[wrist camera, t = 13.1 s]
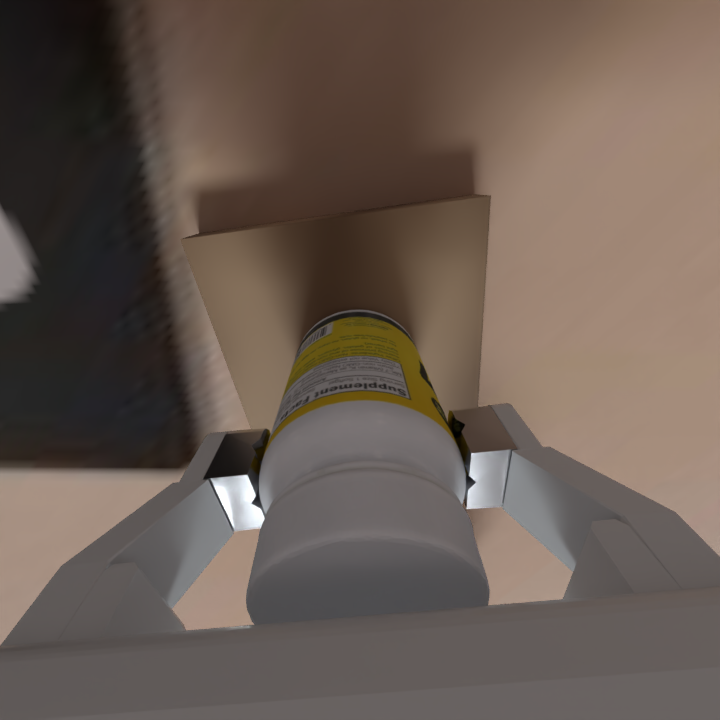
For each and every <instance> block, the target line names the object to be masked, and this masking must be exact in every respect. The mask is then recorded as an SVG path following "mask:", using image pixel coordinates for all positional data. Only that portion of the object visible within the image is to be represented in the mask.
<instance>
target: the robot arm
mask: <svg viewBox="0 0 720 720" xmlns="http://www.w3.org/2000/svg"><path fill="white" fill-rule="evenodd" d="M448 424H449V426H450V429H451V431H452V434H453V436H454V438H455V440H456V443H457V445H458V448H459V450H460V453H461V456H462V459H463V463H464V467H465V473H466V491H465V496H464V503H465V506H466V508H467V509H476V508H492V507H503V509H504V510H505V511H506V512H507V513H508V514H509V515H510V516H511V517H513V518H514V519H515V520H516V521H517V522H518V523H519V524H520V525H521V526H523V527H524V528H525V529H526V530H527V531H528V532H529V533H530V534H531V535H533V536H534V537H535V538H536V539H537V540H538V541H539V542H540V543H542V544H543V545H544V546H545V547H546V548H547V549H548V550H549V551H550V552H552V553H553V554H554V555H555V556H556V557H557V558H558V559H559V560H560V561H562V562H563V563H564V564H565V565H566V566H567V567H568V568H569V569H570V570H572V571H573V574H572V576H571V579H570V582H569V584H568V587H567V590H566V592H565V595H564V597H563V599H561V600H549V601H537V602H525V603H512V604H500V605H488V606H476V607H464V608H451V609H439V610H427V611H415V612H403V613H390V614H378V615H366V616H354V617H343V618H331V619H319V620H307V621H295V622H283V623H271V624H259V625H247V626H235V627H223V628H211V629H199V630H187V631H186V629H185V627H184V624H183V623H182V622H181V620H180V619H179V618H178V617H177V615H176V614H175V613H174V611H173V610H172V608H173V607H174V605H175V604H176V603H177V602H178V601H179V599H180V598H181V597H182V596H183V595H184V593H185V592H186V591H187V590H188V588H189V587H190V586H191V585H192V584H193V582H194V581H195V580H196V579H197V577H198V576H199V575H200V574H201V573H202V571H203V570H204V569H205V568H206V567H207V565H208V564H209V563H210V562H211V560H212V559H213V558H214V557H215V556H216V554H217V553H218V552H219V551H220V549H221V548H222V547H223V546H224V545H225V543H226V542H227V541H228V540H229V538H230V537H231V536H232V535H233V534H234V533H233V531H241V530H249V529H257V528H261V526H262V523H263V521H264V519H265V516H266V514H265V512H264V509H263V506H262V503H261V501H260V495H259V474H260V468H261V464H262V460H263V456H264V453H265V449H266V446H267V444H268V441H269V438H270V435H271V433H270V430H268V429H267V428H263V429H250V430H237V431H229V432H215V433H210V434H208V435H207V436H206V437H205V439H204V441H203V442H202V444H201V446H200V447H199V449H198V451H197V453H196V454H195V456H194V458H193V459H192V461H191V463H190V465H189V466H188V468H187V470H186V471H185V473H184V475H183V477H182V478H181V480H180V482H177V483H172V484H171V485H170V486H168V487H167V488H166V489H164V490H163V491H161V492H160V493H159V494H157V495H156V496H155V497H153V498H152V499H151V500H149V501H148V502H147V503H145V504H144V505H143V506H141V507H140V508H139V509H137V510H136V511H135V512H133V513H132V514H131V515H129V516H128V517H127V518H125V519H124V520H123V521H121V522H120V523H118V524H117V525H116V526H114V527H113V528H112V529H110V530H109V531H108V532H106V533H105V534H104V535H102V536H101V537H100V538H98V539H97V540H96V541H94V542H93V543H92V544H90V545H89V546H88V547H86V548H85V549H84V550H82V551H81V552H80V553H78V554H77V555H75V556H74V557H73V558H71V559H70V560H69V561H67V562H66V563H65V564H63V565H62V566H61V567H60V568H59V569H58V571H57V572H56V573H55V575H54V576H53V577H52V579H51V580H50V581H49V583H48V584H47V585H46V587H45V588H44V589H43V590H42V592H41V593H40V594H39V596H38V597H37V598H36V600H35V601H34V602H33V604H32V605H31V606H30V608H29V609H28V610H27V611H26V613H25V614H24V615H23V617H22V618H21V619H20V621H19V622H18V623H17V625H16V626H15V627H14V628H13V630H12V631H11V632H10V634H9V635H8V636H7V638H6V639H5V640H4V642H3V643H2V644H1V646H0V720H720V557H719V556H718V555H717V554H716V553H715V552H714V551H713V550H712V549H711V548H710V547H709V546H708V545H707V544H706V543H705V542H704V541H703V539H702V538H701V537H700V536H699V535H698V534H697V533H696V532H695V531H694V530H693V529H692V528H691V527H690V526H689V525H688V524H687V523H686V522H685V521H684V520H683V519H682V518H681V517H680V516H679V515H678V514H677V513H676V512H674V511H672V510H670V509H668V508H666V507H664V506H662V505H661V504H659V503H657V502H655V501H653V500H651V499H649V498H647V497H645V496H643V495H641V494H639V493H637V492H636V491H634V490H632V489H630V488H628V487H626V486H624V485H622V484H620V483H618V482H616V481H614V480H612V479H611V478H609V477H607V476H605V475H603V474H601V473H599V472H597V471H595V470H593V469H591V468H589V467H587V466H586V465H584V464H582V463H580V462H578V461H576V460H574V459H572V458H570V457H568V456H566V455H564V454H562V453H561V452H559V451H557V450H555V449H553V448H551V447H543V446H542V445H541V444H540V442H539V441H538V440H537V438H536V437H535V436H534V434H533V433H532V432H531V430H530V429H529V428H528V426H527V425H526V424H525V422H524V421H523V420H522V418H521V417H520V416H519V414H518V413H517V412H516V410H515V409H514V408H513V406H512V405H511V404H509V403H504V404H496V405H488V406H484V407H474V408H465V409H455V410H449V413H448Z"/></svg>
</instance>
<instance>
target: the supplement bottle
mask: <svg viewBox="0 0 720 720" xmlns="http://www.w3.org/2000/svg"><path fill="white" fill-rule="evenodd" d="M465 491H466V473H465V467H464V463H463V459H462V456H461V453H460V450H459V448H458V445H457V443H456V440H455V438H454V436H453V434H452V431H451V429H450V426H449V424H448V421H447V419H446V416H445V414H444V411H443V409H442V407H441V405H440V403H439V401H438V398H437V396H436V393H435V391H434V389H433V386H432V384H431V381H430V379H429V377H428V374H427V372H426V369H425V367H424V365H423V362H422V360H421V357H420V355H419V353H418V350H417V348H416V346H415V344H414V342H413V340H412V338H411V337H410V335H409V334H408V332H407V331H406V330H405V329H404V328H403V327H402V326H401V325H400V324H399V323H397V322H396V321H395V320H393V319H391V318H390V317H388V316H386V315H383V314H381V313H378V312H374V311H370V310H347V311H342V312H338V313H335V314H333V315H330V316H328V317H326V318H324V319H322V320H321V321H319V322H318V323H317V324H315V325H314V326H313V327H312V328H311V329H310V330H309V332H308V333H307V334H306V335H305V337H304V338H303V340H302V342H301V344H300V346H299V348H298V351H297V354H296V357H295V360H294V363H293V366H292V369H291V373H290V376H289V379H288V382H287V385H286V388H285V391H284V394H283V397H282V400H281V404H280V407H279V410H278V413H277V416H276V419H275V422H274V426H273V429H272V432H271V435H270V438H269V441H268V444H267V446H266V449H265V453H264V456H263V460H262V464H261V468H260V474H259V495H260V501H261V503H262V506H263V509H264V512H265V514H266V516H265V519H264V521H263V523H262V526H261V529H260V533H259V539H258V544H257V548H256V552H255V557H254V561H253V566H252V570H251V575H250V579H249V584H248V588H247V595H246V604H247V610H248V613H249V615H250V618H251V620H252V622H253V623H254V625H259V624H271V623H283V622H295V621H307V620H319V619H331V618H343V617H354V616H366V615H378V614H390V613H403V612H415V611H427V610H439V609H451V608H464V607H476V606H488V601H489V585H488V580H487V577H486V573H485V570H484V567H483V564H482V561H481V557H480V554H479V551H478V548H477V544H476V541H475V537H474V533H473V527H472V523H471V521H470V518H469V516H468V514H467V512H466V510H465V509H464V508H463V506H462V504H463V501H464V496H465Z"/></svg>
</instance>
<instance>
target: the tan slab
mask: <svg viewBox="0 0 720 720" xmlns="http://www.w3.org/2000/svg"><path fill="white" fill-rule="evenodd" d="M490 199H491V196H488V195H468V196H461V197H454V198H447V199H440V200H432V201H425V202H418V203H411V204H404V205H397V206H390V207H383V208H376V209H369V210H362V211H354V212H347V213H340V214H333V215H326V216H319V217H312V218H305V219H298V220H291V221H283V222H276V223H269V224H262V225H255V226H248V227H241V228H234V229H227V230H220V231H213V232H205V233H199V234H196V235H192V236H189V237H186V238H183V239H180V240H181V243H182V245H183V248H184V251H185V253H186V256H187V259H188V261H189V264H190V267H191V269H192V272H193V275H194V277H195V280H196V283H197V285H198V288H199V291H200V293H201V296H202V299H203V301H204V304H205V307H206V309H207V312H208V315H209V318H210V320H211V323H212V326H213V328H214V331H215V334H216V336H217V339H218V342H219V344H220V347H221V350H222V352H223V355H224V358H225V360H226V363H227V366H228V368H229V371H230V374H231V376H232V379H233V382H234V384H235V387H236V390H237V392H238V395H239V398H240V401H241V403H242V406H243V409H244V411H245V414H246V417H247V419H248V422H249V425H250V427H251V429H263V428H267V429H268V430H270V433H271V432H272V429H273V426H274V422H275V419H276V416H277V413H278V410H279V407H280V404H281V400H282V397H283V394H284V391H285V388H286V385H287V382H288V379H289V376H290V373H291V369H292V366H293V363H294V360H295V357H296V354H297V351H298V348H299V346H300V344H301V342H302V340H303V338H304V337H305V335H306V334H307V333H308V332H309V330H310V329H311V328H312V327H313V326H314V325H315V324H317V323H318V322H319V321H321V320H322V319H324V318H326V317H328V316H330V315H333V314H335V313H338V312H342V311H347V310H370V311H374V312H378V313H381V314H383V315H386V316H388V317H390V318H391V319H393V320H395V321H396V322H397V323H399V324H400V325H401V326H402V327H403V328H404V329H405V330H406V331H407V332H408V334H409V335H410V337H411V338H412V340H413V342H414V344H415V346H416V348H417V350H418V353H419V355H420V357H421V360H422V362H423V365H424V367H425V369H426V372H427V374H428V377H429V379H430V381H431V384H432V386H433V389H434V391H435V393H436V396H437V398H438V401H439V403H440V405H441V407H442V409H443V411H444V414H445V416H446V419H447V421H448V413H449V410H455V409H465V408H474V407H478V393H479V377H480V361H481V345H482V328H483V312H484V296H485V280H486V264H487V247H488V231H489V215H490Z"/></svg>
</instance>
